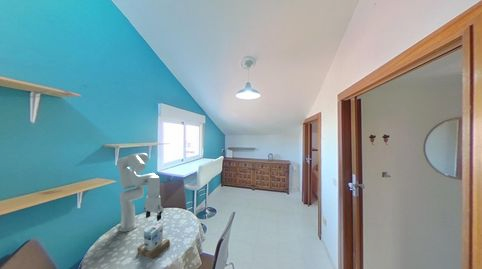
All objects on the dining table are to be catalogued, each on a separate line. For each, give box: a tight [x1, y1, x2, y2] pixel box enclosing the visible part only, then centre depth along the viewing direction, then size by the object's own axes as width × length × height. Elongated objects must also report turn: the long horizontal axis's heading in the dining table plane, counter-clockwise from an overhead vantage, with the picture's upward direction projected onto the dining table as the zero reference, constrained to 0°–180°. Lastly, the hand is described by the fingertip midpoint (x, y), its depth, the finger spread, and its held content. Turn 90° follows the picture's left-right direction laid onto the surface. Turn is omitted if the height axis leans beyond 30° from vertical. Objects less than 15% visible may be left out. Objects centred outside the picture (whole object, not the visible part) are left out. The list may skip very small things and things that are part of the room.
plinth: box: [137, 237, 171, 260], centre depth 117 cm, size 14×14×4 cm
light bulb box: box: [143, 223, 164, 249], centre depth 117 cm, size 11×7×11 cm, turn 166°
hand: (153, 218), depth 116 cm, fingers open, 9 cm apart
